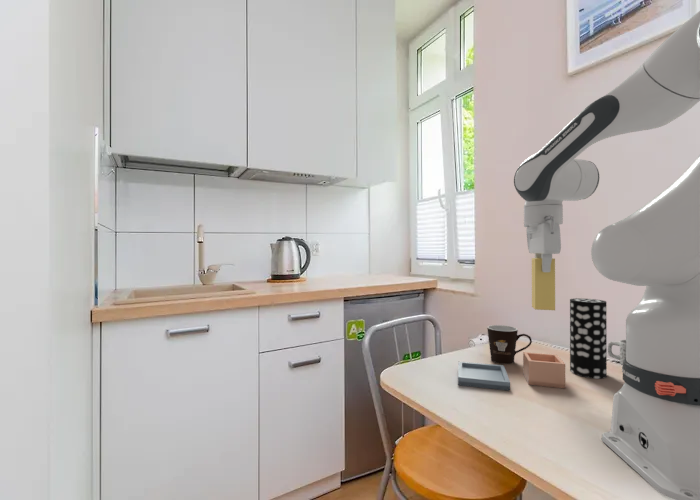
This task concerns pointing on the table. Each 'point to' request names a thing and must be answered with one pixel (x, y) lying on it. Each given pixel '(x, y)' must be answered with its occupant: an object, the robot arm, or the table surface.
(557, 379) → the pink open box
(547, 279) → the peg
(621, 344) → the mug
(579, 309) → the white-spotted black cylinder
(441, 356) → the table surface
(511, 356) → the coffee mug
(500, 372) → the tray
